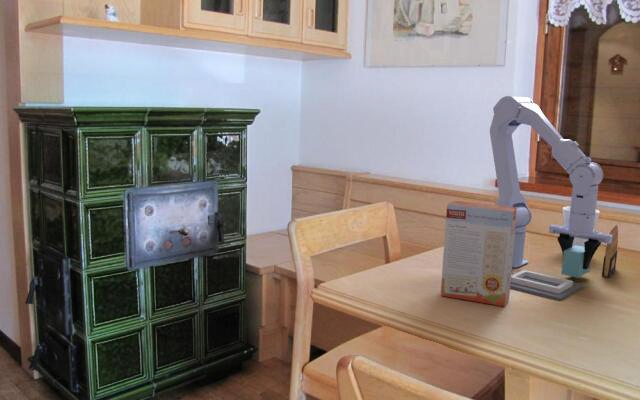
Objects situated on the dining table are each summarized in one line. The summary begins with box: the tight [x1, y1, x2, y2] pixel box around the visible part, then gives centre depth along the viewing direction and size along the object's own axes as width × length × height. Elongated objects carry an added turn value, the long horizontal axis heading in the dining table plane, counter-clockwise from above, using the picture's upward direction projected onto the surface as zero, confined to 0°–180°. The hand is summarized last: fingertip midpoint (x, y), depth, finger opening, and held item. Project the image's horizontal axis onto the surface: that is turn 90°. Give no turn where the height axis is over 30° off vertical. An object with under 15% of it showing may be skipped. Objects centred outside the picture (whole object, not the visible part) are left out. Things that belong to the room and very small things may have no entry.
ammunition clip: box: [601, 224, 619, 279], centre depth 160 cm, size 11×2×12 cm, turn 148°
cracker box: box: [440, 200, 517, 307], centre depth 134 cm, size 14×6×21 cm, turn 64°
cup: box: [561, 205, 600, 247], centre depth 178 cm, size 10×10×13 cm
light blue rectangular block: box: [561, 245, 591, 279], centre depth 153 cm, size 4×8×6 cm, turn 138°
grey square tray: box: [510, 269, 584, 302], centre depth 147 cm, size 15×14×2 cm
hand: (576, 266), depth 153 cm, fingers closed on light blue rectangular block, 4 cm apart
